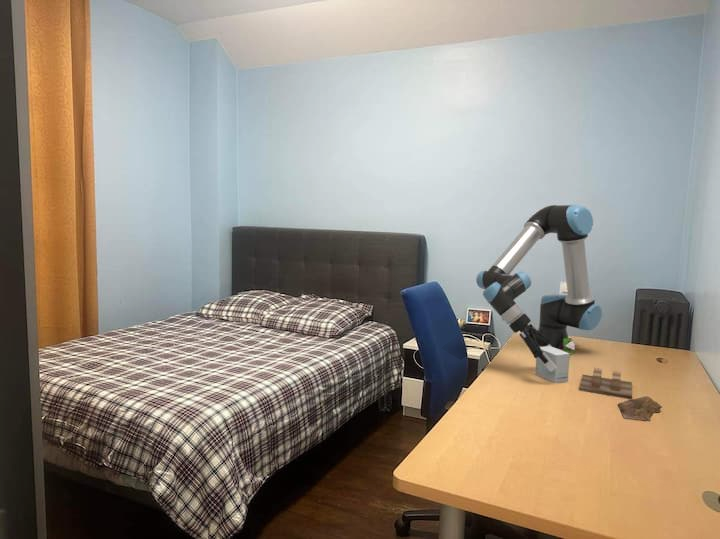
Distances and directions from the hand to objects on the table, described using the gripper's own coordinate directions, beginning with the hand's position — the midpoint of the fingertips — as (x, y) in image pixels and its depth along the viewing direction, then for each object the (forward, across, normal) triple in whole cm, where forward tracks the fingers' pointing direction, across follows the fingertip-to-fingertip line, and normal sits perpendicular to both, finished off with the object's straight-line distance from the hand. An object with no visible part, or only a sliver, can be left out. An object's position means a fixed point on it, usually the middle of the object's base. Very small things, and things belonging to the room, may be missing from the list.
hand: (556, 364), depth 184 cm
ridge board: (+15, +1, +8) cm, 17 cm away
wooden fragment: (+23, +16, +15) cm, 31 cm away
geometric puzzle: (+4, -39, -4) cm, 40 cm away
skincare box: (+3, 0, -5) cm, 6 cm away
